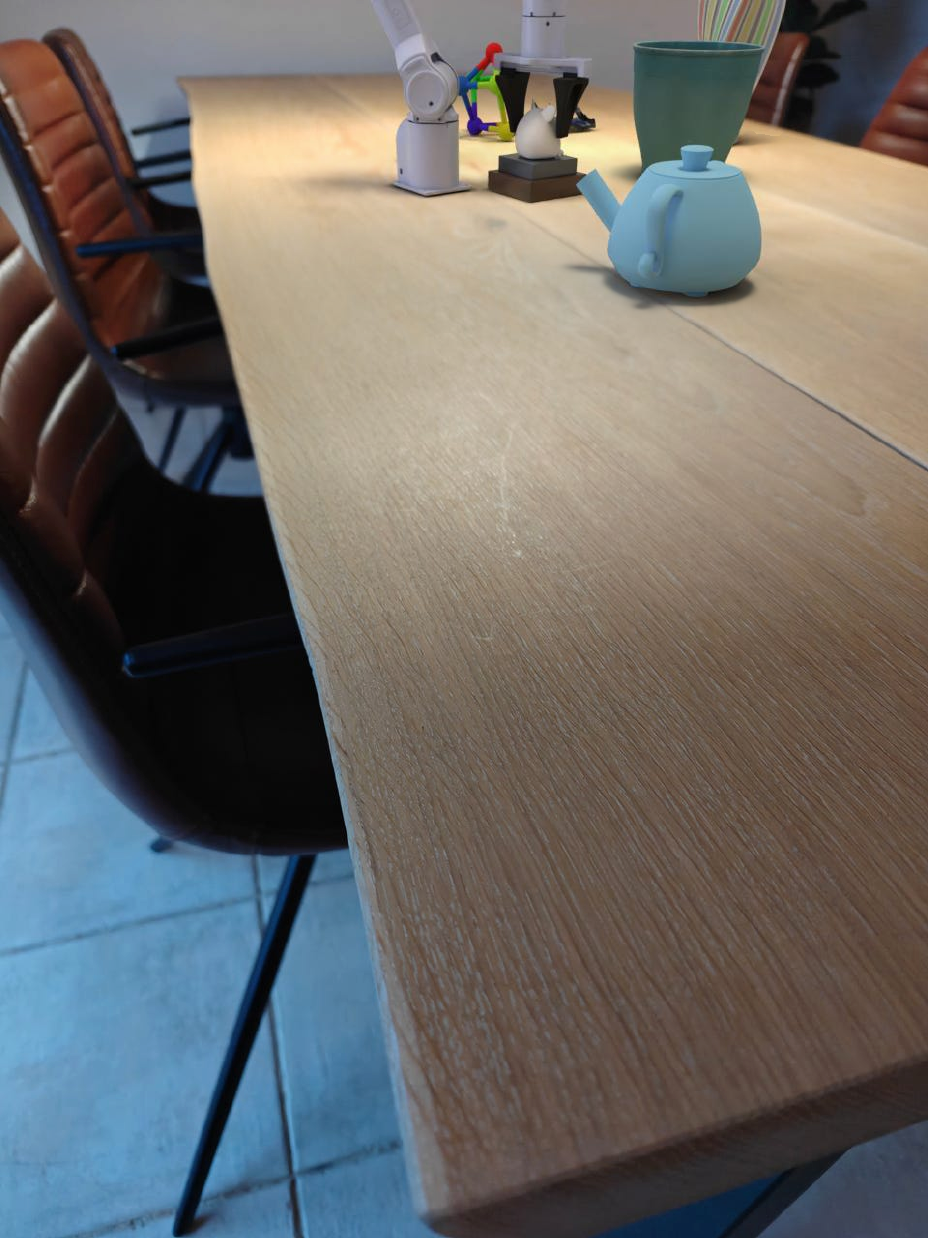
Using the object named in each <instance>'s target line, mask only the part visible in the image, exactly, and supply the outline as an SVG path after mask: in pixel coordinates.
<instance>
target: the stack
mask: <svg viewBox="0 0 928 1238" xmlns="http://www.w3.org/2000/svg"><path fill="white" fill-rule="evenodd" d="M497 159H498V160H497V161H498V163H497V164H498V165H497V169H492V170H491V169H490V170H487V171H488V173H487V175H488V176H487V181H488V182H487V190H488V191H491V192H494V193H497V194H501V195H505V196H507V197H511V198H513V199H517V200H521V201H523V202H526V203H537V202H543V201H549V200H554V199H561V198H567V197H572V196H578V195H583V194H582V193H581V191H580V190H579V189H578V187H577V186H576V184H577V183H578V182H579V181H580V180H581V179H582V178H584V177H585V176H586V175H587V174H588V173H584V172H581V171H580V172H579V171H578V163H579V158H578V157H575V156H571V155H566V154H563V156H562V157H554V158H547V159H528V158H525V157H522V156H520V155H519V154H518V152H514V153H508V154H500V155H498V158H497Z"/></svg>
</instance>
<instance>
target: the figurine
mask: <svg viewBox="0 0 928 1238" xmlns="http://www.w3.org/2000/svg"><path fill="white" fill-rule="evenodd" d="M534 101H535V99H533V101H532V100H531V106H530V109H529V110H528V111H527V112H526V113H524V116H523V117H522V119H521V121H520V123H519V125H518V128H517V131H516V134H515V136H514V144H515V149H516V153H518V154H519V155H520V156H522V157H525V158H528V159H547V158H554V157H562V156H563V155H565V152H564V150H563V149H561V144H562V141H561V139H559V138H556V106H554V105H553V104H551V105H550V104H549V105H548V106H545V108H542V107H539V108H535V107H534ZM554 116H555V117H554Z"/></svg>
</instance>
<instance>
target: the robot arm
mask: <svg viewBox="0 0 928 1238" xmlns="http://www.w3.org/2000/svg"><path fill="white" fill-rule="evenodd" d="M369 1H370V3H371V5H372V7H373V10H374V12H375V13H376V16H377V18H378V20H379V22H380V24H381V26H382V29H383V30H384V32H385V34H386V37H387V39H388V41H389V43H390V45H391V47H392V49H393V52H394V55H395V61H396V62H395V63H396V68H397V71H398V73H399V75H400V77H401V80H402V84H403V97H404V102H405V104H406V106H407V108H408V110H409V112H408V113H406V118H405V119H403V120H402V121H401V123H399V125H398V128H397V131H396V135H395V144H396V145H395V146H396V148H395V149H396V170H397V180H393V181H392V185H393V186H397V187H398V188H402V189H405V190H408V191H410V192H414V193H417V194H419V195H422V196H425V197H427V196H434V195H441V194H447V193H453V192H460V191H467V190H472V185H471V184H468V183H465V182H463V181H462V182H461V181H460V126H459V125H460V119H459V118H460V115H459V113H458V112H457V111H456V109H455V107H454V104H455V103H456V101H457V100H458V97H459V96H458V94H459V87H460V84H459V78H458V76H459V75H458V72H457V71H456V69H455V67H453V65H452V64H451V63H449V62H448V61H447V60H446V59H445V58H444V56H443V55H442V54H441V52H440V50H439V47H438V45H437V44H436V42H435V41H434V39H433V38H432V37H431V36H430V34H429V33H428V31H427V29H426V26H425V24H424V22H423V20H422V18H421V16H420V14H419V11H418V9H417V7H416V5H415V2H414V0H369ZM521 4H522V6H521V7H522V8H521V9H522V10H521V32H520V33H521V35H520V53H519V52H503V53H496V54H494V70H499V75H495V82H496V84H497V86H498V88H499V90H500V93H501V95H502V98H503V101H504V106H505V112H506V117H507V121H508V122H509V127H510V132H511V133H516V131H517V128H518V125H519V123H520V121H521V119H522V117H523V116H524V115H525V102H526V95H527V90H528V89H527V88H528V84H529V80H530V77H531V73H535V74H546V75H559V77H554V78H552V79H553V80H552V83H553V89H554V96H555V109H556V113H555V117H556V138H559V139H560V140H561V139H565V138H568V137H569V134H570V130H571V128H570V127H571V123H572V120H573V118H574V116H575V111H576V108H577V105H578V106H579V103H580V100H581V99H582V97H583V95H584V93H585V91H586V89H587V87H588V86H589V82H590V78H589V77H592V76H593V66H594V65H593V63H594V59H593V58H588V57H587V58H586V57H578V56H571V55H565V43H566V42H565V41H566V24H567V9H568V8H567V7H568V0H522V3H521ZM532 66H533V67H532ZM535 66H538V67H535ZM542 67H543V68H542ZM544 67H550V68H544Z"/></svg>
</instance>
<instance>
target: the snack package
mask: <svg viewBox="0 0 928 1238" xmlns="http://www.w3.org/2000/svg"><path fill="white" fill-rule="evenodd" d="M532 101H533V99H532V100H531V102H532ZM548 104H549V106H550V105H552V104H551V102H548ZM534 108H540V107H539V105H538V104H537V102H535V100H534ZM574 115H576V117H573V120H572V123H571V127H570V129H575V128H576V129H577V132H579V133H580V132H582V131H587V130H590V129H595V128H596V127H597V122H596V118H593V117H592V118H590V117H588V116H587V114H585V113H583V112H582V110H581V108H580V107H579V104H578V105H577V108H576V111H575V113H574ZM554 117H556V115H555V116H554Z"/></svg>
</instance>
